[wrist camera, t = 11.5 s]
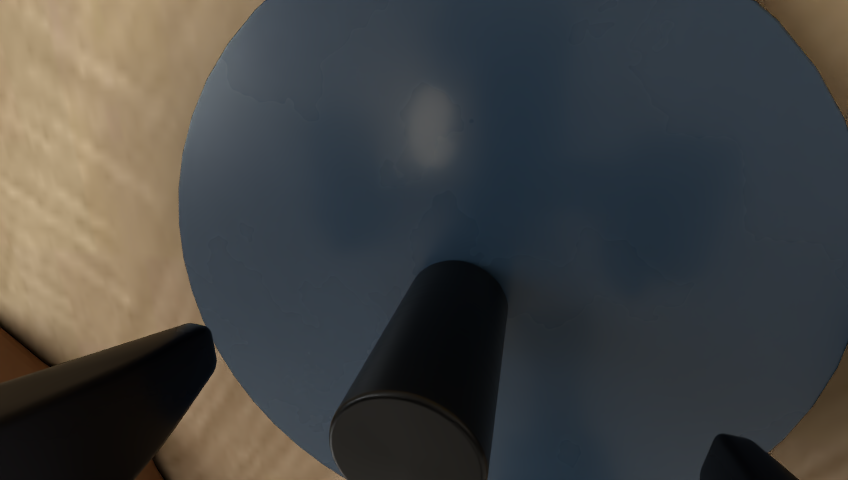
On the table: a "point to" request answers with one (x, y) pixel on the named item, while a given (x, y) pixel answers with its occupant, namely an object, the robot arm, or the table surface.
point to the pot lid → (519, 232)
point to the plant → (12, 360)
